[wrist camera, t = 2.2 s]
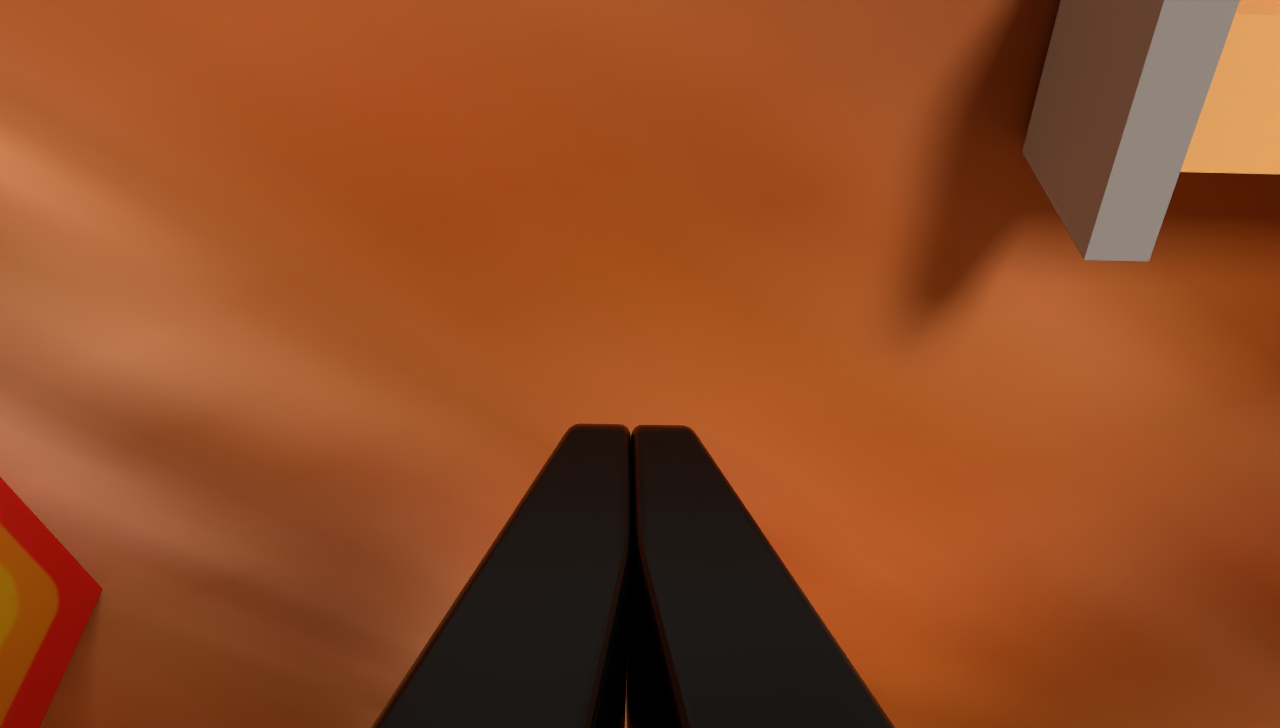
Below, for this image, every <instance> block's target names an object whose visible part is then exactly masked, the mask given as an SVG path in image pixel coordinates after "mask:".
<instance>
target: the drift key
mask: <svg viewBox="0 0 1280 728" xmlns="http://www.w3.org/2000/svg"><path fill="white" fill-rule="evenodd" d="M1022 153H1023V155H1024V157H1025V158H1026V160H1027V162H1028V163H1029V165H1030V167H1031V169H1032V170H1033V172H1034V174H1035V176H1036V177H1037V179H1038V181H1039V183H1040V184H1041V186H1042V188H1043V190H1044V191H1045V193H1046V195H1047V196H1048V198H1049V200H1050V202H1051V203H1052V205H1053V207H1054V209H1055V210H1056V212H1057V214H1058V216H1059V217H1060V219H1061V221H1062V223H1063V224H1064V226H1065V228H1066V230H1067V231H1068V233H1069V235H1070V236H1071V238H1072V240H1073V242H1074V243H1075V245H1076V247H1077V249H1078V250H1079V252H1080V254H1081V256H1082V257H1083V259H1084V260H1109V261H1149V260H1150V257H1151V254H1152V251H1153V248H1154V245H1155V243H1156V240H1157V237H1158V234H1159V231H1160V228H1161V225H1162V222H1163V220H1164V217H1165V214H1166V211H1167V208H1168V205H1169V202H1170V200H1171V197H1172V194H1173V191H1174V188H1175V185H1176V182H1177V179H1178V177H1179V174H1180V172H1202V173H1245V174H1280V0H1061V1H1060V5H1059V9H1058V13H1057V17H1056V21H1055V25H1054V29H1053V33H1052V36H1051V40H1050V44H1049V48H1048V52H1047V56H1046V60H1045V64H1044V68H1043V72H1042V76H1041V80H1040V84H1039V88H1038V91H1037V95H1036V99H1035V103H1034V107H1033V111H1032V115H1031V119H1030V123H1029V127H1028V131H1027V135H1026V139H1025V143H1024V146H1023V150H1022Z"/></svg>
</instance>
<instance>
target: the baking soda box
mask: <svg viewBox="0 0 1280 728" xmlns="http://www.w3.org/2000/svg"><path fill="white" fill-rule="evenodd" d="M101 591H102V588H101V587H100V586H99V585H98V584H97V583H96V582H95V580H94V579H93V578H92V577H91V576H90V575H89V574H88V573H87V572H86V571H85V569H84V568H83V567H82V566H81V565H80V564H79V563H78V562H77V561H76V560H75V559H74V557H73V556H72V555H71V554H70V553H69V552H68V551H67V550H66V549H65V548H64V546H63V545H62V544H61V543H60V542H59V541H58V540H57V539H56V538H55V537H54V535H53V534H52V533H51V532H50V531H49V530H48V529H47V528H46V527H45V526H44V525H43V523H42V522H41V521H40V520H39V519H38V518H37V517H36V516H35V515H34V514H33V512H32V511H31V510H30V509H29V508H28V507H27V506H26V505H25V504H24V503H23V501H22V500H21V499H20V498H19V497H18V496H17V495H16V494H15V493H14V492H13V491H12V489H11V488H10V487H9V486H8V485H7V484H6V483H5V482H4V481H3V480H2V478H1V477H0V728H39V727H40V725H41V723H42V720H43V718H44V716H45V714H46V712H47V709H48V707H49V705H50V703H51V701H52V698H53V696H54V694H55V692H56V690H57V688H58V685H59V683H60V681H61V679H62V677H63V674H64V672H65V670H66V668H67V666H68V663H69V661H70V659H71V657H72V655H73V652H74V650H75V648H76V646H77V644H78V641H79V639H80V637H81V635H82V633H83V630H84V628H85V626H86V624H87V622H88V620H89V617H90V615H91V613H92V611H93V609H94V606H95V604H96V602H97V600H98V598H99V595H100V593H101Z"/></svg>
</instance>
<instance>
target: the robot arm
mask: <svg viewBox="0 0 1280 728" xmlns="http://www.w3.org/2000/svg"><path fill="white" fill-rule="evenodd" d="M626 679H627V682H626ZM625 704H626V708H627V728H895V727H894V725H893V724H892V723H891V721H890V720H889V718H888V717H887V715H886V714H885V712H884V711H883V709H882V708H881V706H880V705H879V703H878V702H877V700H876V699H875V697H874V696H873V694H872V693H871V692H870V690H869V689H868V687H867V686H866V684H865V683H864V681H863V680H862V678H861V677H860V675H859V674H858V672H857V671H856V669H855V668H854V666H853V665H852V664H851V662H850V661H849V659H848V658H847V656H846V655H845V653H844V652H843V650H842V649H841V647H840V646H839V644H838V643H837V641H836V640H835V638H834V637H833V635H832V634H831V633H830V631H829V630H828V628H827V627H826V625H825V624H824V622H823V621H822V619H821V618H820V616H819V615H818V613H817V612H816V610H815V609H814V607H813V606H812V604H811V603H810V602H809V600H808V599H807V597H806V596H805V594H804V593H803V591H802V590H801V588H800V587H799V585H798V584H797V582H796V581H795V579H794V578H793V576H792V575H791V574H790V572H789V571H788V569H787V568H786V566H785V565H784V563H783V562H782V560H781V559H780V557H779V556H778V554H777V553H776V551H775V550H774V548H773V547H772V545H771V544H770V543H769V541H768V540H767V538H766V537H765V535H764V534H763V532H762V531H761V529H760V528H759V526H758V525H757V523H756V522H755V520H754V519H753V517H752V516H751V515H750V513H749V512H748V510H747V509H746V507H745V506H744V504H743V503H742V501H741V500H740V498H739V497H738V495H737V494H736V492H735V491H734V489H733V488H732V486H731V485H730V484H729V482H728V481H727V479H726V478H725V476H724V475H723V473H722V472H721V470H720V469H719V467H718V466H717V464H716V463H715V461H714V460H713V458H712V457H711V455H710V454H709V453H708V451H707V450H706V448H705V447H704V445H703V444H702V442H701V441H700V439H699V438H698V436H697V435H696V434H695V432H694V431H693V430H692V429H690V428H689V427H687V426H680V425H639V426H637V427H635V428H634V430H633V431H632V435H631V436H630V431H629V430H628V428H627V427H625V426H624V425H620V424H576V425H573V426H572V427H570V428H569V429H568V431H567V432H566V433H565V434H564V436H563V437H562V439H561V441H560V442H559V444H558V445H557V447H556V448H555V450H554V451H553V453H552V454H551V456H550V457H549V459H548V460H547V462H546V463H545V465H544V466H543V468H542V469H541V471H540V472H539V474H538V475H537V477H536V478H535V480H534V481H533V483H532V485H531V486H530V488H529V489H528V491H527V492H526V494H525V495H524V497H523V498H522V500H521V501H520V503H519V504H518V506H517V507H516V509H515V510H514V512H513V513H512V515H511V516H510V518H509V519H508V521H507V522H506V524H505V525H504V527H503V529H502V530H501V532H500V533H499V535H498V536H497V538H496V539H495V541H494V542H493V544H492V545H491V547H490V548H489V550H488V551H487V553H486V554H485V556H484V557H483V559H482V560H481V562H480V563H479V565H478V566H477V568H476V570H475V571H474V573H473V574H472V576H471V577H470V579H469V580H468V582H467V583H466V585H465V586H464V588H463V589H462V591H461V592H460V594H459V595H458V597H457V598H456V600H455V601H454V603H453V604H452V606H451V607H450V609H449V610H448V612H447V614H446V615H445V617H444V618H443V620H442V621H441V623H440V624H439V626H438V627H437V629H436V630H435V632H434V633H433V635H432V636H431V638H430V639H429V641H428V642H427V644H426V645H425V647H424V648H423V650H422V651H421V653H420V654H419V656H418V658H417V659H416V661H415V662H414V664H413V665H412V667H411V668H410V670H409V671H408V673H407V674H406V676H405V677H404V679H403V680H402V682H401V683H400V685H399V686H398V688H397V689H396V691H395V692H394V694H393V695H392V697H391V698H390V700H389V702H388V703H387V705H386V706H385V708H384V709H383V711H382V712H381V714H380V715H379V717H378V718H377V720H376V721H375V723H374V724H373V726H372V727H371V728H625Z"/></svg>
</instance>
